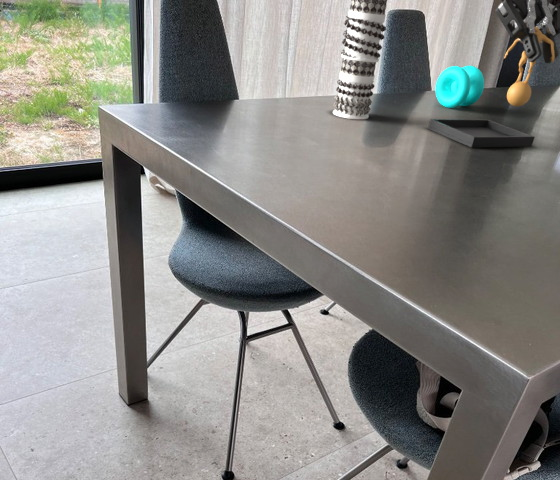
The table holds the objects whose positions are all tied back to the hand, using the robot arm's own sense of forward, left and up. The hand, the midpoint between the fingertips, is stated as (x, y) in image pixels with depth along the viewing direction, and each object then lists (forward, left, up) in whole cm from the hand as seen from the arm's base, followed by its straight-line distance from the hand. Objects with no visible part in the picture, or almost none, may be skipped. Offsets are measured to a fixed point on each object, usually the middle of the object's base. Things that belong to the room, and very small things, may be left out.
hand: (543, 59), depth 96 cm
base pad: (-12, -22, -18) cm, 31 cm away
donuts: (-30, -53, -19) cm, 64 cm away
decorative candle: (+10, -42, -19) cm, 47 cm away
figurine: (0, -2, -8) cm, 8 cm away
